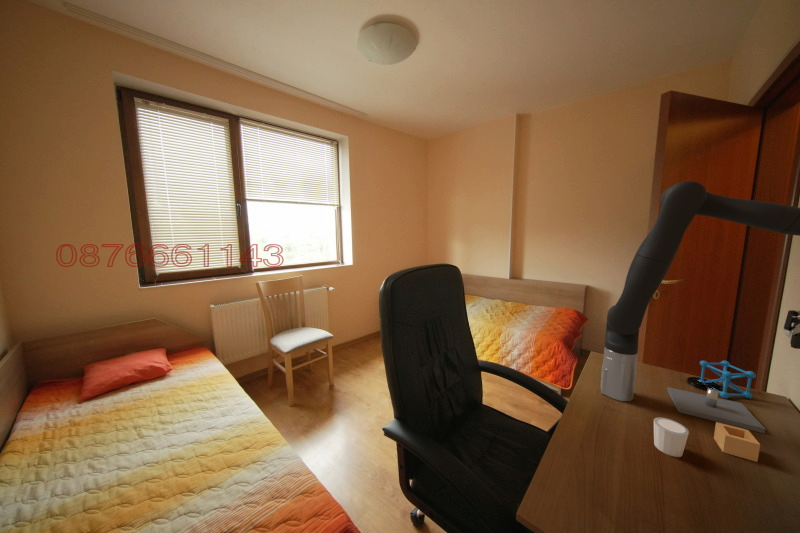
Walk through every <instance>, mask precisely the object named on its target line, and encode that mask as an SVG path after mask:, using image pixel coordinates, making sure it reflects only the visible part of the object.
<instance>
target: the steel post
mask: <svg viewBox="0 0 800 533" xmlns="http://www.w3.org/2000/svg"><path fill="white" fill-rule="evenodd" d="M715 389H716V388H715ZM715 389H712V388H709V387H707V390H706V403H705V404H706V405H707V406H709V407H712V408H716V406H717V399H718V398H719V393H718V392H719V391H720V390H719V391H717V390H718V389H717V390H715Z"/></svg>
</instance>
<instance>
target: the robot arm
mask: <svg viewBox="0 0 800 533" xmlns="http://www.w3.org/2000/svg"><path fill="white" fill-rule="evenodd" d="M659 204H660V206H661V207H660V211H659V214H658V216H657V218H656V220H655V223H654V225H653V227H652V228H651V230H650V231H649V233H648V234H647V235H646V236H645V238H644V239H643V241H642V243H641V244H640V245H639V247H638V249H637V250H636V253H635V255H634V256H633V258H632V261H631V263H630V265H629V267H628V271H627V274H626V278H625V282H624V286H623V290H622V293H621V294H620V297H619V298H618V300H617V301H616V303H615V305H612V306H611V307H610V308H609V309H608V311H607V314H606V326H605V336H604V337H605V338H604V348H603V349H604V350H603V362H602V364H601V374H600V375H601V376H600V385H599V386H600V392H601V395H605V396H607V397H609V398H610V399H613V400H615V401H621V402H631V401H633V399H634V395H635V394H634V391H635V382H636V372H637V361H638V352H639V334H640V328H641V326H642V323H643V320H644V317H645V314H646V311H647V308H648V306H649V303H650V302H651V300H652V298H653V296H654V295H655V293H656V291H657V290H658V289H659V287H660V286H661V284H662V282H663V281H664V279H665V277H666V276H667V274H668V272H669V270H670V268H671V266H672V263H673V262H674V261H675V260H674V259H675V257H676V255H677V252H678V250H679V248H680V245H681V244H682V241H683V237H684V235H685V233H686V231H687V229H688V227H689V226H690V224H691V223H692V221H693V220H694V218H695V216H696V215H699V216H705V217H711V218H714V219H716V218H717V219H720V220H724V221H729V222H733V223H737V224H741V225H745V226H748V227H752V228H757V229H761V230H764V231H770V232H773V233H774V232H775V233H778V234H783V235H789V236H800V207H798V206H793V205H787V204H781V203H778V202H777V203H776V202H769V201H761V200H752V199H744V198H736V197H730V196H724V195H720V194H719V195H718V194H715V193H712V192H709V191H707V189H706V188H705V186H704V185H703V184H702V183H700V182H697V181H693V180H685V181H681V182H678V183H675V184H673V185H671V186H669V187H668V188H667V189H665V190H664V191H663V192H662V193H661V195H660V198H659ZM783 329H784V330H785V331H788V332H790V334H791V337H790V338H791V339H790V347H791V348H793V349H797V350H800V310H794V309H793V310H792V309H789V310H788V311H787V314H786V318H785V322H784V326H783Z"/></svg>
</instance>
